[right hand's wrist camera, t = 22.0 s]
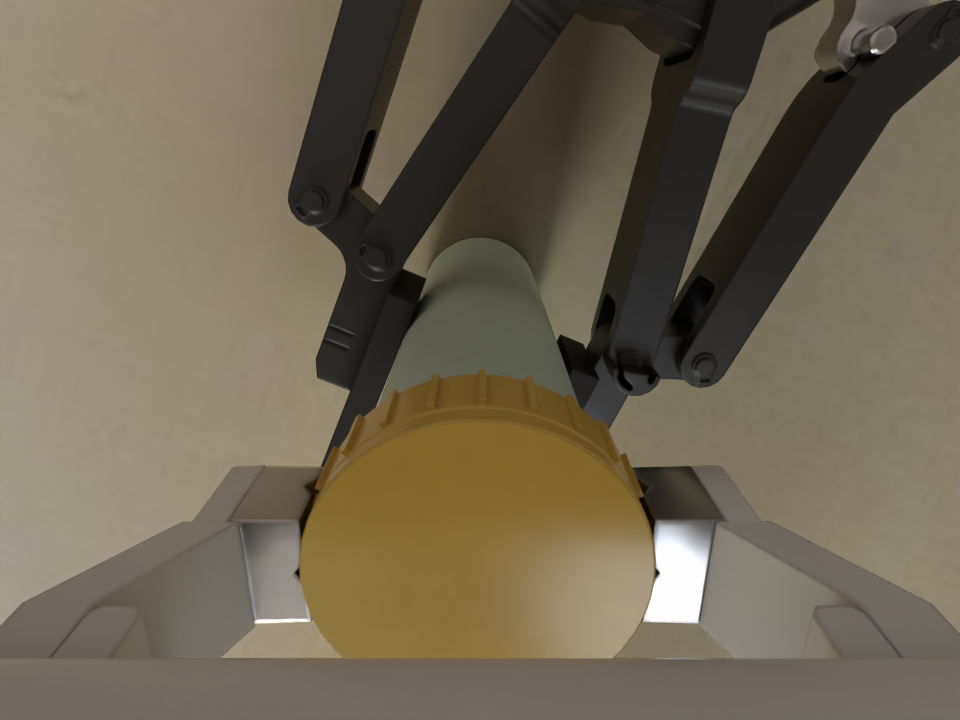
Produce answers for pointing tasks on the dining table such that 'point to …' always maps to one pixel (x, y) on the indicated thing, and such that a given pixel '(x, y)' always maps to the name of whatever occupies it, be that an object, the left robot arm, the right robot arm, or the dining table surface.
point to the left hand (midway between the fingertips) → (409, 508)
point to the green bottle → (479, 322)
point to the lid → (477, 529)
